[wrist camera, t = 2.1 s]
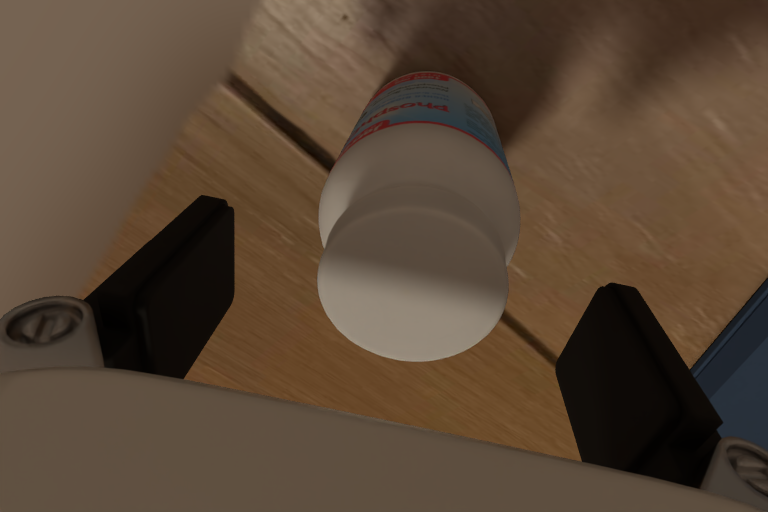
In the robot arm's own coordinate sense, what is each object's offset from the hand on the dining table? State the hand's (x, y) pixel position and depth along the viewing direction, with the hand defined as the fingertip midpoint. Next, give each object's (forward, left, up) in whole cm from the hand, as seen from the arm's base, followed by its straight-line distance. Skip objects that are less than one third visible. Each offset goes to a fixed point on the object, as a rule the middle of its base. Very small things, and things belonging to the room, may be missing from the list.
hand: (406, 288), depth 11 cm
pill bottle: (0, 0, -11) cm, 11 cm away
